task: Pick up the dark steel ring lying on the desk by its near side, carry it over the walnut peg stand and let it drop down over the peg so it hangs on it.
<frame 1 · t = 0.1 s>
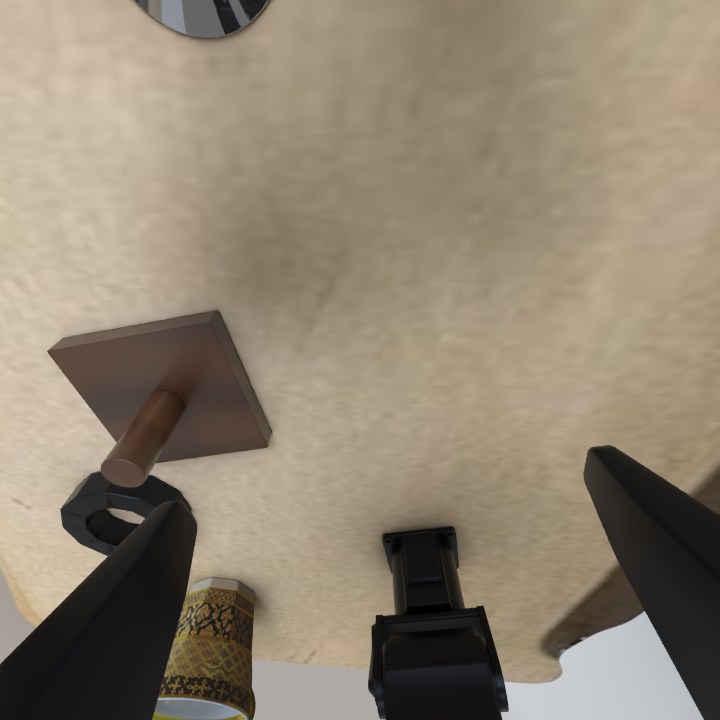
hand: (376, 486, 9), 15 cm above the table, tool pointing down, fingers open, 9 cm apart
peg stand: (176, 389, 26), on the table
ceramic cup: (233, 597, 42), on the table
ring: (135, 505, 33), on the table
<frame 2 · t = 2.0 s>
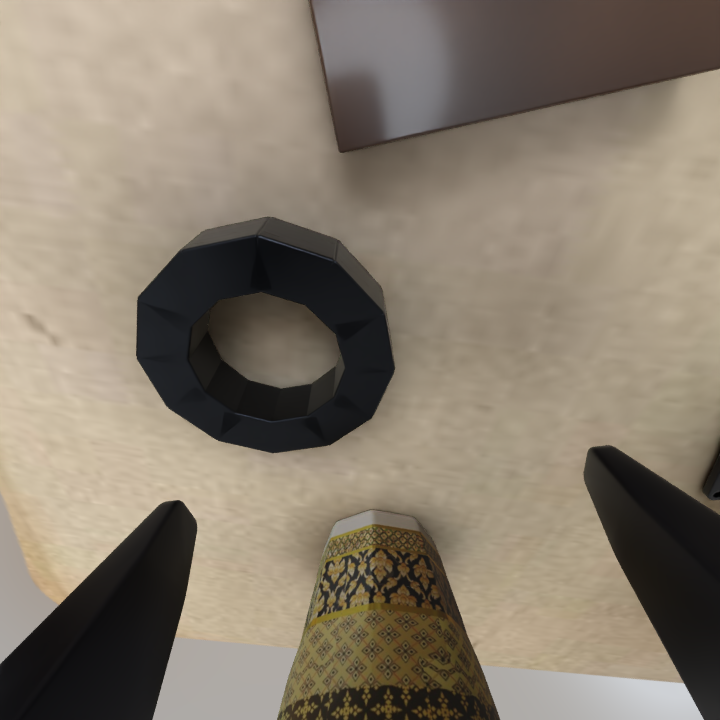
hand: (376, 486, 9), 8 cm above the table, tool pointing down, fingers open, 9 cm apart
ceramic cup: (389, 550, 25), on the table
ring: (277, 334, 16), on the table
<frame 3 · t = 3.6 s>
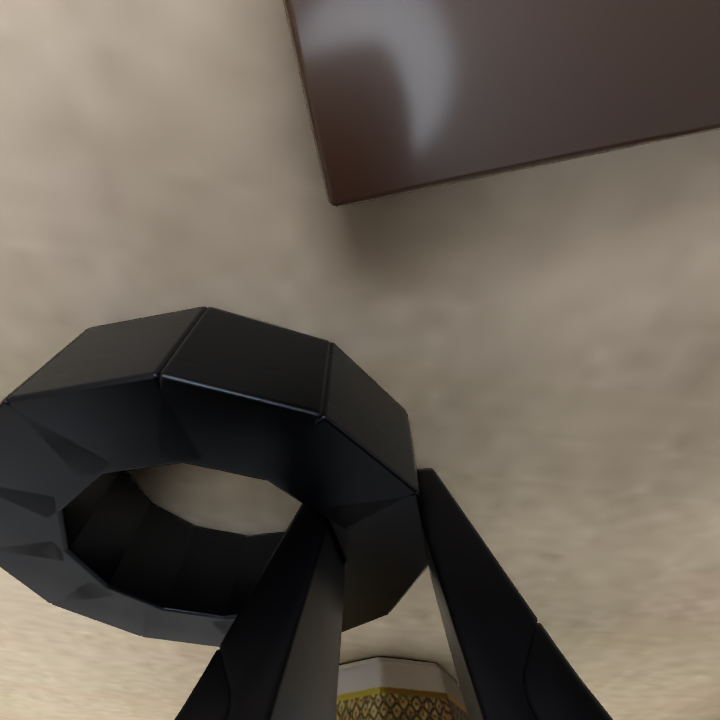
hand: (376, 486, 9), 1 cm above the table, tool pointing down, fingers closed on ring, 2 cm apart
ceramic cup: (400, 689, 19), on the table
ring: (235, 471, 10), on the table, touching gripper
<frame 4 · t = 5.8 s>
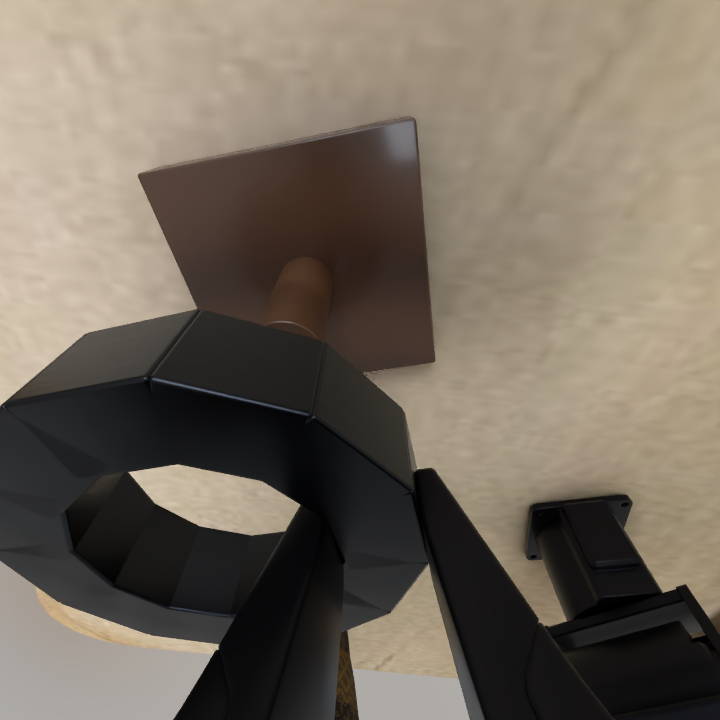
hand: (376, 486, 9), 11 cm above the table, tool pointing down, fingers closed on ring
peg stand: (310, 268, 17), on the table
ceramic cup: (310, 587, 33), on the table
ring: (236, 471, 10), point 10 cm above the table, touching gripper
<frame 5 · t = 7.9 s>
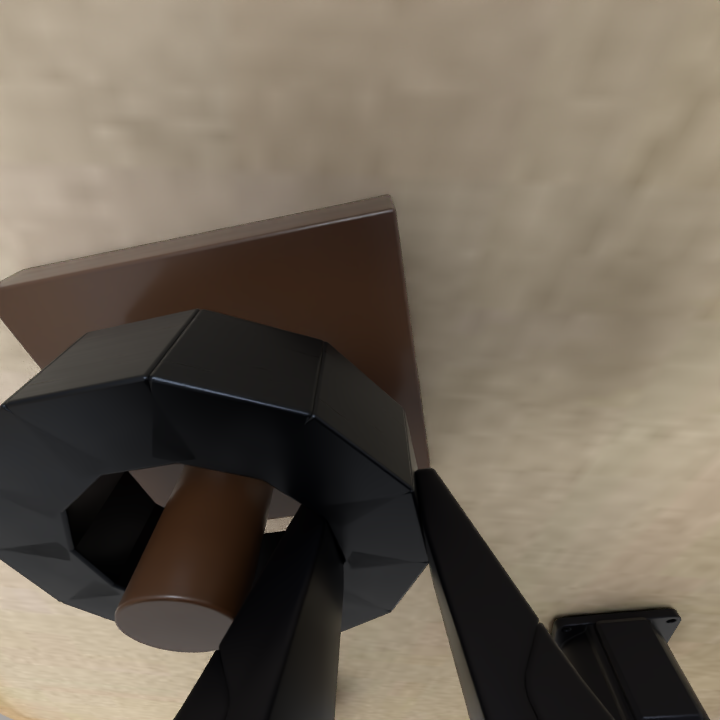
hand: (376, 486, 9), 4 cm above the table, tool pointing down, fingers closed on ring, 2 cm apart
peg stand: (261, 385, 13), on the table
ring: (237, 471, 10), point 3 cm above the table, touching gripper
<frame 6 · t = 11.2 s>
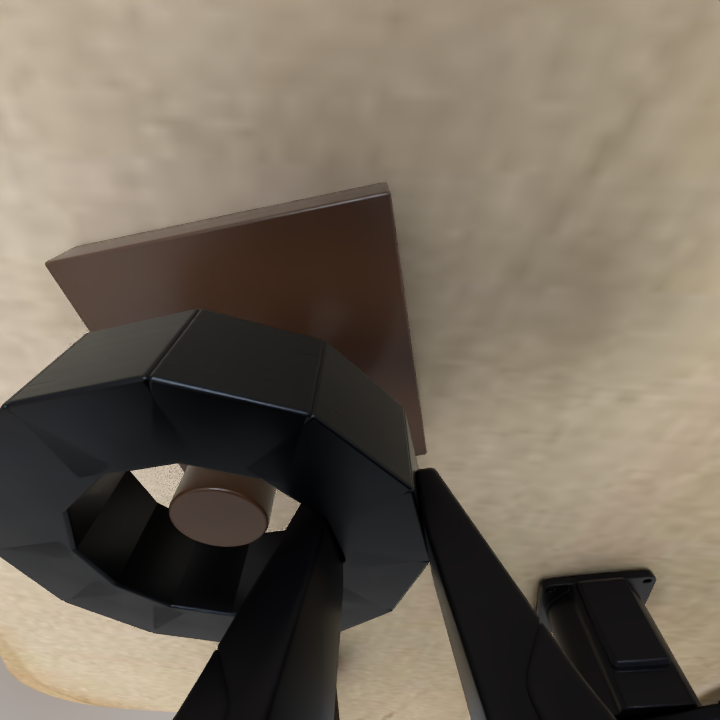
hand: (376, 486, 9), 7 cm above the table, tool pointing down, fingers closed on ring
peg stand: (274, 351, 14), on the table
ring: (238, 470, 10), point 6 cm above the table, touching gripper
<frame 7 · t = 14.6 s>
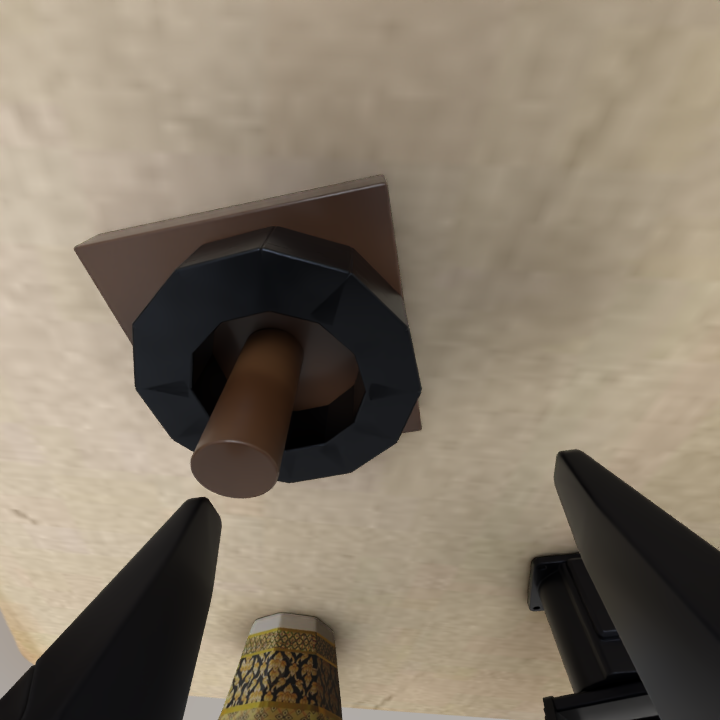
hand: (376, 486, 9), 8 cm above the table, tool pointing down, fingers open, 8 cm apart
peg stand: (280, 333, 16), on the table
ceramic cup: (302, 636, 32), on the table
ring: (288, 353, 14), point 1 cm above the table, touching peg stand
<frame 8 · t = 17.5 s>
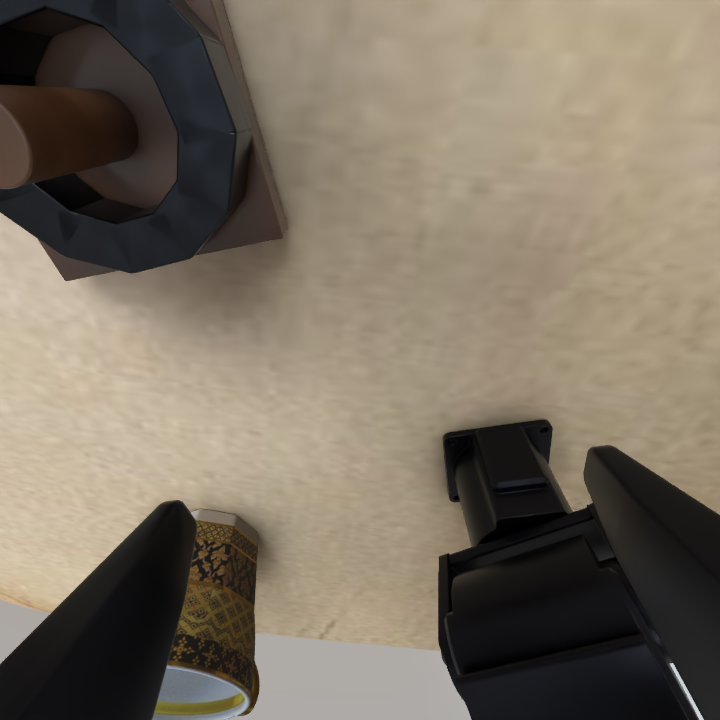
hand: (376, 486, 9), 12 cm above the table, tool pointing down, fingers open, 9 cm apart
peg stand: (127, 124, 15), on the table
ceramic cup: (229, 541, 31), on the table
ring: (121, 126, 14), point 1 cm above the table, touching peg stand
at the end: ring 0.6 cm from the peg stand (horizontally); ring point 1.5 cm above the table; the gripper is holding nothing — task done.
